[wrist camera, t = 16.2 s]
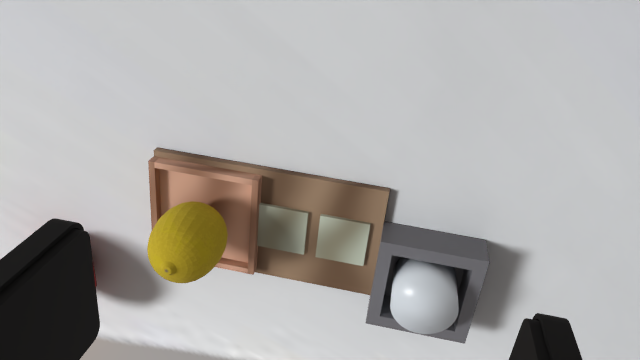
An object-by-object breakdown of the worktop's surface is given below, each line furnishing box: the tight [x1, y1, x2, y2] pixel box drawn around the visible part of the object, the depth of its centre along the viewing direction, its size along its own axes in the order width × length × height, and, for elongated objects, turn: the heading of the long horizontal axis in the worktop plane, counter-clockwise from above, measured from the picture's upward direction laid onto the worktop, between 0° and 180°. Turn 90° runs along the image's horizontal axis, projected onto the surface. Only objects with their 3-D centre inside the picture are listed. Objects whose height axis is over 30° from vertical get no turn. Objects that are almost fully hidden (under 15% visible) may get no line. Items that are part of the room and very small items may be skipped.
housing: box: [366, 222, 490, 343], centre depth 43 cm, size 8×8×3 cm
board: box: [148, 148, 390, 295], centre depth 44 cm, size 19×10×2 cm, turn 84°
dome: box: [390, 257, 459, 334], centre depth 42 cm, size 5×5×4 cm
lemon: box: [147, 201, 228, 283], centre depth 41 cm, size 6×6×8 cm
